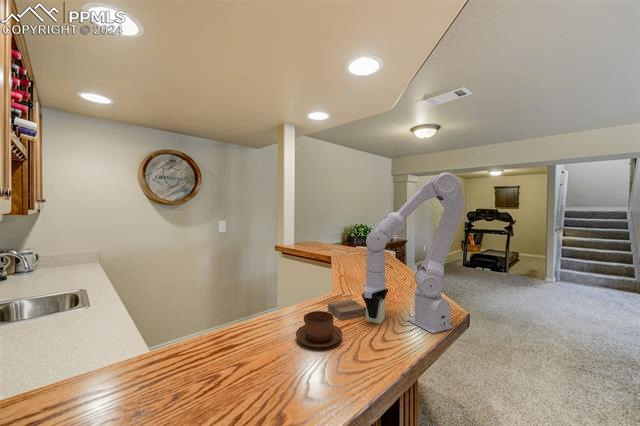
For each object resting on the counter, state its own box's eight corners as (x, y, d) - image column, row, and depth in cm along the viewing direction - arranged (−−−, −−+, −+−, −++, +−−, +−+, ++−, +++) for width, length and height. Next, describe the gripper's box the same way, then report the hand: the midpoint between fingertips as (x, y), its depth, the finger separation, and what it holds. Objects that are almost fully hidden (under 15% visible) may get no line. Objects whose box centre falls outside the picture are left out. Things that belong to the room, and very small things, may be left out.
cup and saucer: (286, 344, 66) (286, 320, 66) (310, 326, 77) (310, 305, 77) (329, 357, 60) (330, 330, 60) (349, 335, 71) (349, 312, 71)
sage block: (384, 318, 82) (384, 299, 82) (380, 323, 78) (380, 303, 78) (370, 315, 84) (370, 296, 84) (365, 320, 80) (365, 301, 80)
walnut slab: (366, 317, 84) (366, 307, 84) (341, 322, 80) (341, 312, 80) (351, 307, 92) (351, 299, 92) (327, 311, 88) (327, 302, 88)
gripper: (370, 264, 89) (370, 305, 89) (354, 273, 77) (354, 320, 77) (391, 267, 86) (391, 309, 86) (378, 277, 73) (377, 325, 73)
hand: (375, 314), depth 81 cm, fingers closed on sage block, 4 cm apart
